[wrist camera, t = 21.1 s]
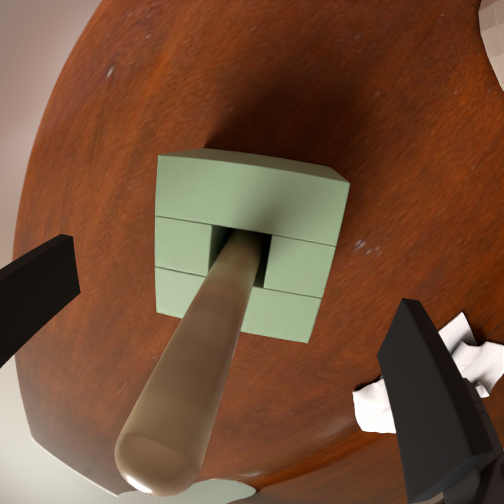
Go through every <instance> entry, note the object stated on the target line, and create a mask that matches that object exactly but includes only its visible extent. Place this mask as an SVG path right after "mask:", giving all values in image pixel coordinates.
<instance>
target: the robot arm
mask: <svg viewBox="0 0 504 504" xmlns="http://www.w3.org/2000/svg"><path fill="white" fill-rule="evenodd" d="M80 293H81V292H80V286H79V280H78V274H77V267H76V260H75V252H74V243H73V236H68V235H64V234H60V235H58V236H56V237H54V238H52V239H51V240H49V241H47V242H45V243H43V244H42V245H40V246H38V247H36V248H35V249H33V250H31V251H29V252H28V253H26V254H24V255H23V256H21V257H19V258H18V259H16V260H14V261H13V262H11V263H10V264H8V265H6V266H5V267H3V268H2V269H0V368H1V367H2V366H3V365H4V364H5V363H6V362H7V361H8V360H9V359H10V358H11V357H12V356H13V355H14V354H15V353H16V352H17V351H18V350H19V349H20V348H21V347H22V346H23V345H24V344H25V343H26V342H27V341H28V340H29V339H30V338H31V337H32V336H33V335H34V334H35V333H36V332H38V331H39V330H40V329H41V328H42V327H43V326H44V325H45V324H46V323H47V322H48V321H49V320H50V319H52V318H53V317H54V316H55V315H56V314H57V313H58V312H59V311H60V310H62V309H63V308H64V307H65V306H66V305H67V304H68V303H69V302H71V301H72V300H73V299H74V298H75V297H76V296H78V295H79V294H80ZM377 357H378V361H379V365H380V368H381V372H382V376H383V379H384V383H385V387H386V391H387V395H388V399H389V403H390V408H391V412H392V416H393V421H394V425H395V430H396V435H397V440H398V445H399V450H400V455H401V461H402V467H403V473H404V479H405V486H406V493H407V501H408V504H412V503H416V502H422V501H426V500H430V499H431V498H433V497H434V496H436V495H437V494H439V493H440V492H442V491H443V496H444V498H443V499H441V500H440V501H438V502H437V503H435V504H504V451H503V448H502V446H501V444H500V441H499V438H498V436H497V433H496V431H495V429H494V426H493V424H492V421H491V419H490V417H489V415H488V413H486V411H487V410H486V408H485V406H484V404H483V403H482V399H481V397H480V395H479V393H478V391H477V389H476V388H475V387H474V385H473V384H472V383H471V382H470V381H469V380H468V379H467V378H463V377H462V375H461V373H460V371H459V369H458V367H457V365H456V363H455V362H454V360H453V358H452V356H451V354H450V352H449V350H448V348H447V347H446V345H445V343H444V341H443V340H442V338H441V336H440V334H439V333H438V331H437V329H436V327H435V326H434V324H433V322H432V321H431V319H430V317H429V316H428V314H427V312H426V311H425V309H424V307H423V306H422V304H421V303H420V301H419V300H412V299H405V298H402V300H401V302H400V305H399V307H398V310H397V312H396V314H395V317H394V319H393V321H392V324H391V326H390V328H389V330H388V333H387V335H386V337H385V339H384V341H383V343H382V345H381V347H380V349H379V351H378V354H377Z"/></svg>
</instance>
